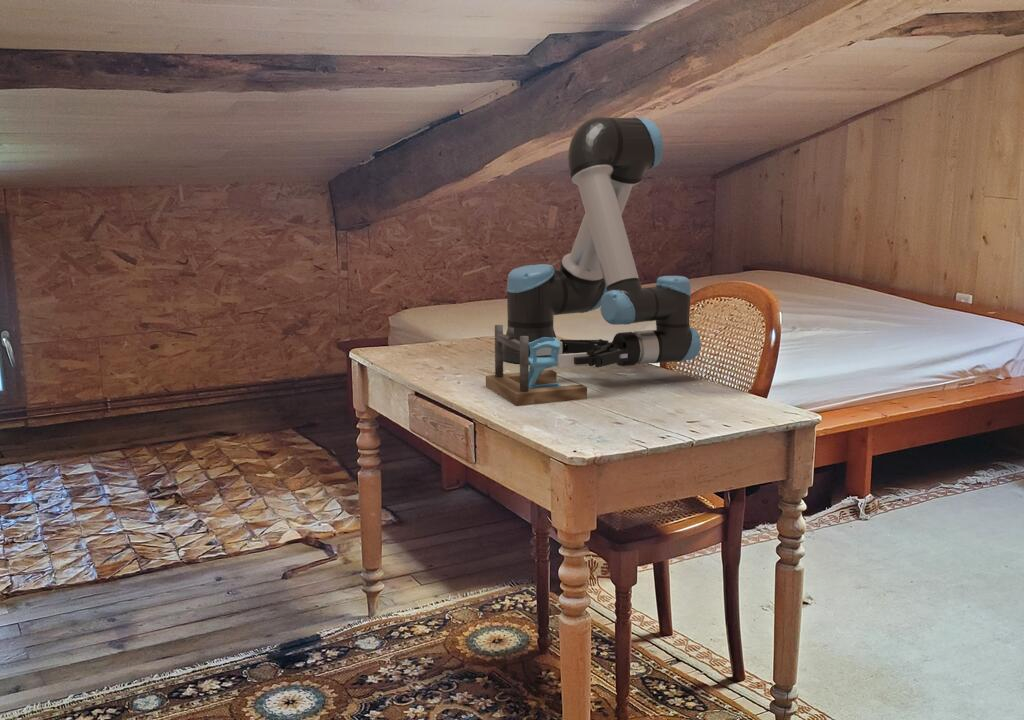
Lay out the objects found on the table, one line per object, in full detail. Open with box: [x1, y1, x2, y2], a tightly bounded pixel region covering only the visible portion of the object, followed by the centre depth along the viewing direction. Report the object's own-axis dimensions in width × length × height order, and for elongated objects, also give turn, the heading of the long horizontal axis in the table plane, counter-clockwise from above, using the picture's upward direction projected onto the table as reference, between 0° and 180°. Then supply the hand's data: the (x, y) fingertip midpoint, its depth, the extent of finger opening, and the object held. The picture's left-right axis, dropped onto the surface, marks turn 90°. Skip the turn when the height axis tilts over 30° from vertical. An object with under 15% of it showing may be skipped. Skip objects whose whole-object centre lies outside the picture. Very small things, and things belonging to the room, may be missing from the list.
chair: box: [529, 337, 562, 389], centre depth 216 cm, size 8×8×12 cm
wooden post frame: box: [485, 324, 588, 407], centre depth 215 cm, size 16×19×15 cm
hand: (546, 355), depth 215 cm, fingers open, 13 cm apart
